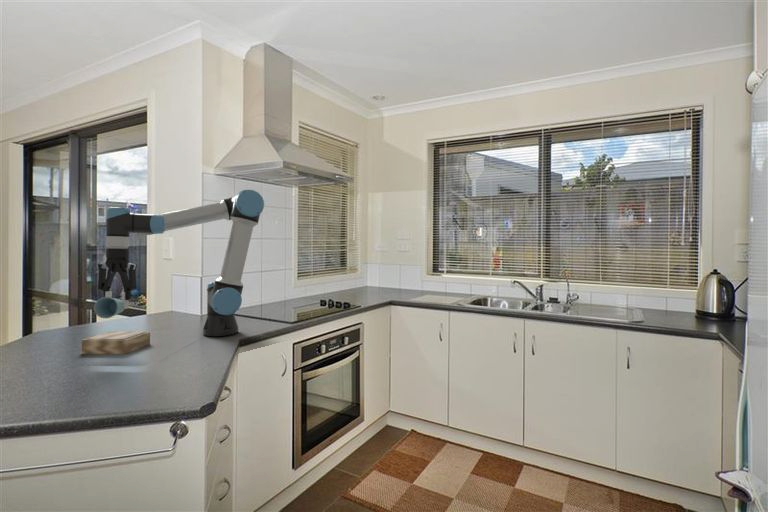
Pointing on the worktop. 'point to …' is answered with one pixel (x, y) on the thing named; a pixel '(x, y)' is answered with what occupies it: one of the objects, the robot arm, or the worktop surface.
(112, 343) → the base
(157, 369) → the worktop surface
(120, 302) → the cup
